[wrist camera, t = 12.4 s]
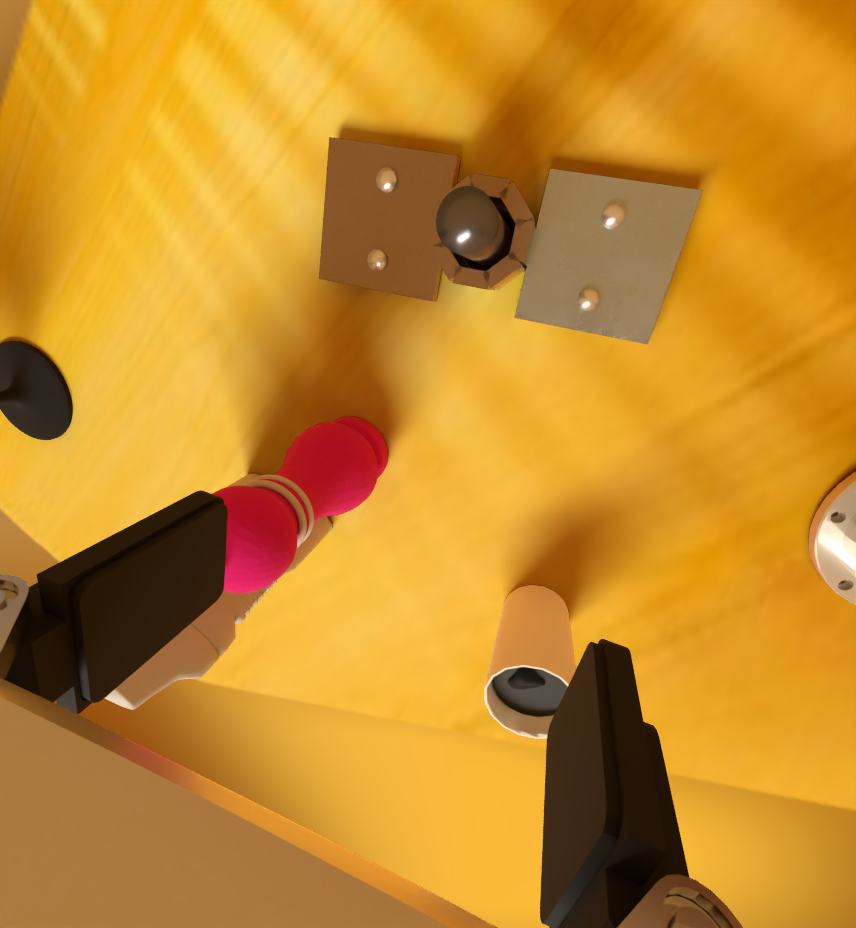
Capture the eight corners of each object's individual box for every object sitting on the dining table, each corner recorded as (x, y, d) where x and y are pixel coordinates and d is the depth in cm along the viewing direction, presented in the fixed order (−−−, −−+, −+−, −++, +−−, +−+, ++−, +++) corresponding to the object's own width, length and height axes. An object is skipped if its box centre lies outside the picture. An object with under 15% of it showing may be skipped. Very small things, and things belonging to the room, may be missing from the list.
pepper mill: (321, 401, 39) (119, 493, 21) (400, 422, 38) (259, 540, 19) (314, 476, 42) (130, 615, 23) (387, 497, 40) (253, 662, 22)
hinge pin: (516, 222, 30) (502, 190, 21) (506, 269, 32) (488, 258, 23) (473, 215, 31) (441, 181, 22) (465, 262, 32) (431, 248, 23)
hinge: (696, 194, 28) (722, 176, 23) (644, 342, 31) (658, 349, 27) (336, 142, 32) (304, 119, 27) (326, 279, 35) (295, 276, 31)
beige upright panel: (237, 489, 44) (-20, 648, 24) (249, 456, 43) (-17, 598, 23) (328, 545, 44) (142, 753, 24) (344, 514, 42) (157, 711, 22)
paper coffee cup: (484, 613, 42) (465, 700, 33) (527, 567, 39) (520, 648, 30) (543, 654, 42) (540, 753, 33) (590, 610, 39) (602, 705, 30)
